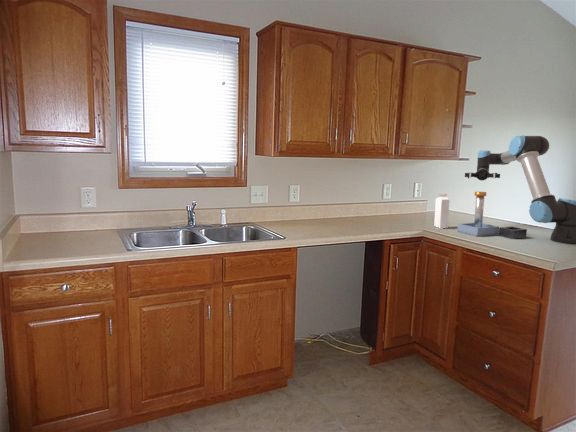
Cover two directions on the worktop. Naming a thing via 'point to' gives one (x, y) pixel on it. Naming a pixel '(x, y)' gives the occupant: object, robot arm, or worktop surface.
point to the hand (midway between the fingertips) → (481, 176)
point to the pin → (479, 209)
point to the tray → (478, 229)
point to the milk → (441, 211)
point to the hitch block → (512, 232)
